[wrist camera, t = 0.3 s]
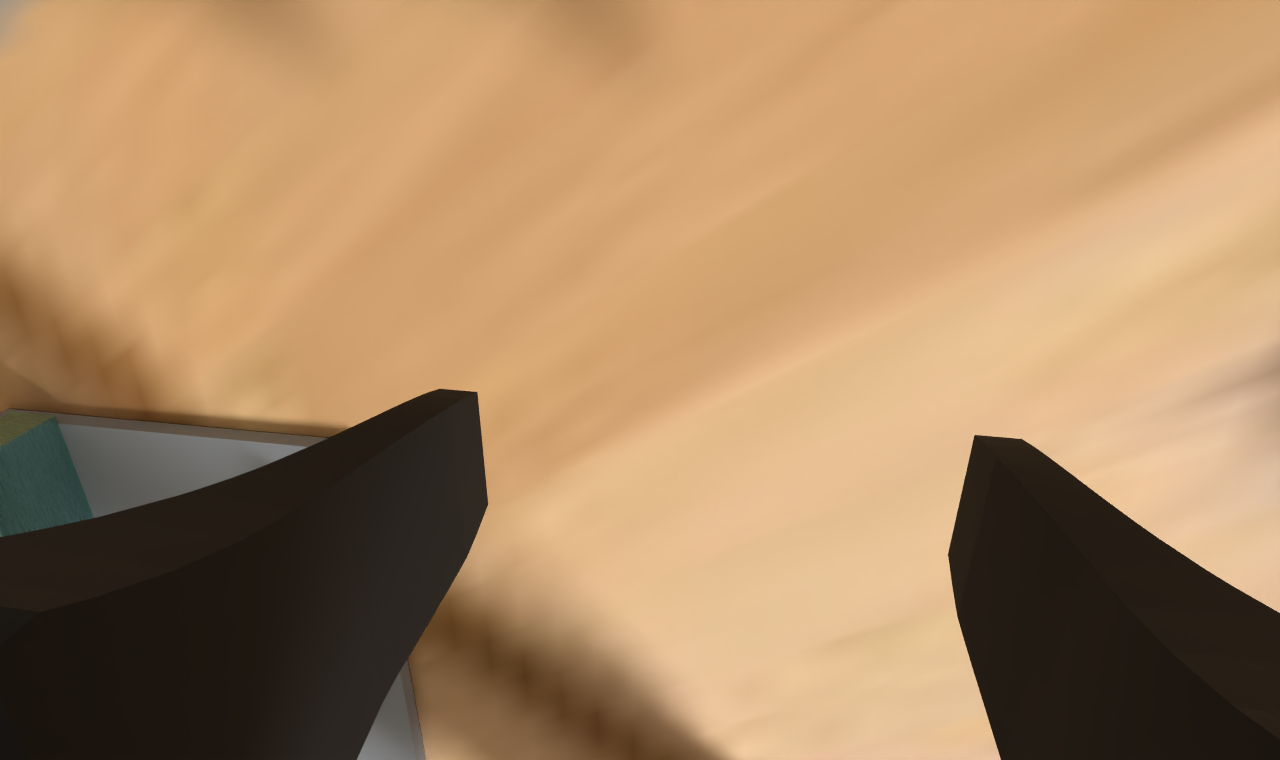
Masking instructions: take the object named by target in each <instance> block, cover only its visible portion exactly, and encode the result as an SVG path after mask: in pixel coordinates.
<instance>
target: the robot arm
mask: <svg viewBox="0 0 1280 760" xmlns="http://www.w3.org/2000/svg"><path fill="white" fill-rule="evenodd" d="M487 506H488V498H487V488H486V477H485V467H484V457H483V446H482V436H481V426H480V415H479V405H478V395H477V392H470V391H458V390H447V389H438V390H435V391H431V392H428V393H426V394H423V395H421V396H418V397H416V398H414V399H411V400H409V401H407V402H405V403H402V404H400V405H398V406H396V407H394V408H392V409H389V410H387V411H385V412H383V413H381V414H379V415H377V416H375V417H373V418H370V419H368V420H366V421H364V422H362V423H360V424H358V425H356V426H353V427H351V428H349V429H347V430H345V431H343V432H341V433H339V434H336V435H334V436H332V437H330V438H328V439H325V440H323V441H321V442H318V443H316V444H314V445H311V446H309V447H307V448H304V449H302V450H300V451H297V452H295V453H293V454H291V455H288V456H286V457H284V458H281V459H279V460H277V461H274V462H272V463H270V464H267V465H265V466H262V467H259V468H257V469H254V470H252V471H249V472H246V473H244V474H241V475H238V476H235V477H233V478H230V479H227V480H224V481H221V482H218V483H215V484H212V485H209V486H206V487H203V488H200V489H197V490H194V491H191V492H188V493H184V494H181V495H178V496H174V497H171V498H167V499H163V500H160V501H156V502H152V503H148V504H145V505H141V506H137V507H134V508H130V509H126V510H123V511H119V512H115V513H111V514H108V515H104V516H100V517H96V518H91V519H87V520H82V521H78V522H73V523H69V524H64V525H60V526H55V527H50V528H45V529H40V530H35V531H29V532H24V533H19V534H14V535H9V536H3V537H0V760H357V758H358V756H359V754H360V752H361V749H362V747H363V745H364V743H365V741H366V738H367V736H368V734H369V732H370V730H371V727H372V725H373V723H374V721H375V719H376V716H377V714H378V712H379V710H380V708H381V706H382V703H383V702H384V700H385V698H386V696H387V694H388V692H389V690H390V688H391V687H392V685H393V683H394V681H395V679H396V677H397V675H398V674H399V672H400V670H401V669H402V667H403V665H404V664H405V662H406V660H407V659H408V657H409V655H410V654H411V652H412V650H413V648H414V647H415V645H416V643H417V642H418V640H419V638H420V637H421V635H422V633H423V632H424V630H425V628H426V627H427V625H428V623H429V622H430V620H431V618H432V616H433V615H434V613H435V611H436V610H437V608H438V606H439V605H440V603H441V601H442V600H443V598H444V596H445V594H446V593H447V591H448V589H449V588H450V586H451V584H452V582H453V581H454V579H455V577H456V576H457V574H458V572H459V570H460V569H461V567H462V565H463V563H464V561H465V560H466V558H467V555H468V553H469V551H470V548H471V546H472V544H473V541H474V539H475V537H476V534H477V532H478V529H479V527H480V524H481V521H482V519H483V516H484V514H485V511H486V508H487ZM948 557H949V564H950V571H951V579H952V586H953V592H954V598H955V604H956V610H957V616H958V620H959V623H960V627H961V630H962V634H963V637H964V641H965V644H966V647H967V651H968V654H969V657H970V661H971V664H972V667H973V670H974V674H975V677H976V680H977V683H978V687H979V690H980V693H981V696H982V700H983V703H984V706H985V709H986V713H987V716H988V719H989V722H990V725H991V729H992V732H993V735H994V738H995V742H996V745H997V748H998V751H999V755H1000V758H1001V760H1280V613H1279V612H1277V611H1275V610H1273V609H1272V608H1270V607H1268V606H1266V605H1265V604H1263V603H1261V602H1259V601H1258V600H1256V599H1254V598H1252V597H1251V596H1249V595H1247V594H1245V593H1244V592H1242V591H1240V590H1238V589H1236V588H1235V587H1233V586H1231V585H1230V584H1228V583H1226V582H1225V581H1223V580H1222V579H1220V578H1218V577H1217V576H1215V575H1213V574H1212V573H1210V572H1209V571H1207V570H1205V569H1204V568H1202V567H1201V566H1199V565H1198V564H1196V563H1195V562H1193V561H1192V560H1190V559H1189V558H1187V557H1186V556H1184V555H1183V554H1181V553H1180V552H1178V551H1177V550H1175V549H1174V548H1172V547H1171V546H1169V545H1168V544H1166V543H1165V542H1163V541H1162V540H1160V539H1159V538H1157V537H1156V536H1154V535H1153V534H1151V533H1150V532H1149V531H1147V530H1146V529H1144V528H1143V527H1141V526H1140V525H1139V524H1137V523H1136V522H1134V521H1133V520H1132V519H1130V518H1129V517H1128V516H1126V515H1125V514H1123V513H1122V512H1121V511H1119V510H1118V509H1117V508H1115V507H1114V506H1113V505H1111V504H1110V503H1109V502H1107V501H1106V500H1104V499H1103V498H1102V497H1101V496H1099V495H1098V494H1097V493H1095V492H1094V491H1093V490H1091V489H1090V488H1089V487H1087V486H1086V485H1085V484H1083V483H1082V482H1081V481H1079V480H1078V479H1077V478H1075V477H1074V476H1073V475H1072V474H1070V473H1069V472H1068V471H1066V470H1065V469H1064V468H1062V467H1061V466H1060V465H1058V464H1057V463H1056V462H1054V461H1053V460H1052V459H1050V458H1049V457H1048V456H1046V455H1045V454H1044V453H1042V452H1041V451H1039V450H1038V449H1036V448H1035V447H1033V446H1032V445H1030V444H1029V443H1027V442H1026V441H1024V440H1022V439H1014V438H1003V437H991V436H979V435H975V436H974V440H973V445H972V449H971V454H970V458H969V463H968V467H967V472H966V476H965V481H964V485H963V490H962V494H961V499H960V503H959V508H958V512H957V517H956V521H955V526H954V530H953V535H952V539H951V544H950V548H949V553H948Z"/></svg>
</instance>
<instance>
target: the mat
mask: <svg viewBox="0 0 1280 760" xmlns="http://www.w3.org/2000/svg"><path fill="white" fill-rule="evenodd" d="M12 411H13V412H23V413H34V414H45V415H55V417H56V419H57V422H58V424H59V427H60V430H61V432H62V435H63V438H64V440H65V443H66V445H67V448H68V451H69V453H70V456H71V458H72V461H73V464H74V466H75V469H76V472H77V474H78V477H79V479H80V482H81V485H82V487H83V490H84V492H85V495H86V498H87V500H88V503H89V506H90V508H91V511H92V513H93V516H94V518H96V517H100V516H104V515H108V514H111V513H115V512H119V511H123V510H126V509H130V508H134V507H137V506H141V505H145V504H148V503H152V502H156V501H160V500H163V499H167V498H171V497H174V496H178V495H181V494H184V493H188V492H191V491H194V490H197V489H200V488H203V487H206V486H209V485H212V484H215V483H218V482H221V481H224V480H227V479H230V478H233V477H235V476H238V475H241V474H244V473H246V472H249V471H252V470H254V469H257V468H259V467H262V466H265V465H267V464H270V463H272V462H274V461H277V460H279V459H281V458H284V457H286V456H288V455H291V454H293V453H295V452H297V451H300V450H302V449H304V448H307V447H309V446H311V445H314V444H316V443H318V442H321V441H323V440H325V439H328V438H323V437H312V436H301V435H290V434H279V433H268V432H257V431H246V430H235V429H224V428H213V427H202V426H191V425H180V424H169V423H159V422H148V421H137V420H126V419H115V418H104V417H93V416H82V415H71V414H60V413H49V412H38V411H27V410H16V409H7V410H5V411H3V412H1V413H0V418H1V417H3V416H5V415H7V414H9V413H11V412H12ZM357 760H426V759H425V753H424V748H423V742H422V737H421V731H420V726H419V720H418V715H417V709H416V704H415V698H414V693H413V688H412V682H411V677H410V671H409V666H408V660H406V662H405V664H404V665H403V667H402V669H401V670H400V672H399V674H398V675H397V677H396V679H395V681H394V683H393V685H392V687H391V688H390V690H389V692H388V694H387V696H386V698H385V700H384V702H383V703H382V706H381V708H380V710H379V712H378V714H377V716H376V719H375V721H374V723H373V725H372V727H371V730H370V732H369V734H368V736H367V738H366V741H365V743H364V745H363V747H362V749H361V752H360V754H359V756H358V758H357Z"/></svg>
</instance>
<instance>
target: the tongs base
mask: <svg viewBox="0 0 1280 760" xmlns="http://www.w3.org/2000/svg"><path fill="white" fill-rule="evenodd" d="M91 518H94V516H93V513H92V511H91V508H90V506H89V503H88V500H87V498H86V495H85V492H84V490H83V487H82V485H81V482H80V479H79V477H78V474H77V472H76V469H75V466H74V464H73V461H72V458H71V456H70V453H69V451H68V448H67V445H66V443H65V440H64V438H63V435H62V432H61V430H60V427H59V424H58V422H57V419H56V417H55V415H45V414H34V413H23V412H13V411H12V412H11V413H9V414H7V415H5V416H3V417H1V418H0V537H3V536H9V535H14V534H19V533H24V532H29V531H35V530H40V529H45V528H50V527H55V526H60V525H64V524H69V523H73V522H78V521H82V520H87V519H91Z"/></svg>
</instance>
